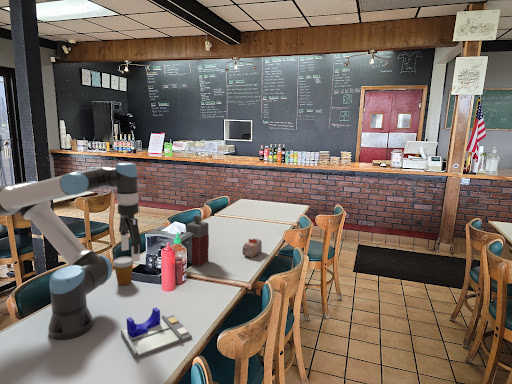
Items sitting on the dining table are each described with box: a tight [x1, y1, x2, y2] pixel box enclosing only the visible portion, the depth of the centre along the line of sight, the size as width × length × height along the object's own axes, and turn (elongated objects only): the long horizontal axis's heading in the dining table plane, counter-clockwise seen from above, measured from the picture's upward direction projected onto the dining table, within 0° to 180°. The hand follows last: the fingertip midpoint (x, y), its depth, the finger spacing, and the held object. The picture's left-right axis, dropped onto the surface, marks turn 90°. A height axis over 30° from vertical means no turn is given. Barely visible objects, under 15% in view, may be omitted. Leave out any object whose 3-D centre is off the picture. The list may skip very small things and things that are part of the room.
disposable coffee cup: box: [112, 256, 135, 286], centre depth 172 cm, size 10×10×12 cm
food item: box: [242, 238, 263, 259], centre depth 214 cm, size 14×8×10 cm, turn 154°
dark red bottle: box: [185, 214, 210, 267], centre depth 198 cm, size 9×11×28 cm
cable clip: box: [126, 306, 161, 338], centre depth 132 cm, size 12×4×6 cm, turn 134°
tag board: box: [120, 314, 193, 360], centre depth 131 cm, size 17×21×2 cm
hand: (130, 255), depth 138 cm, fingers open, 13 cm apart
